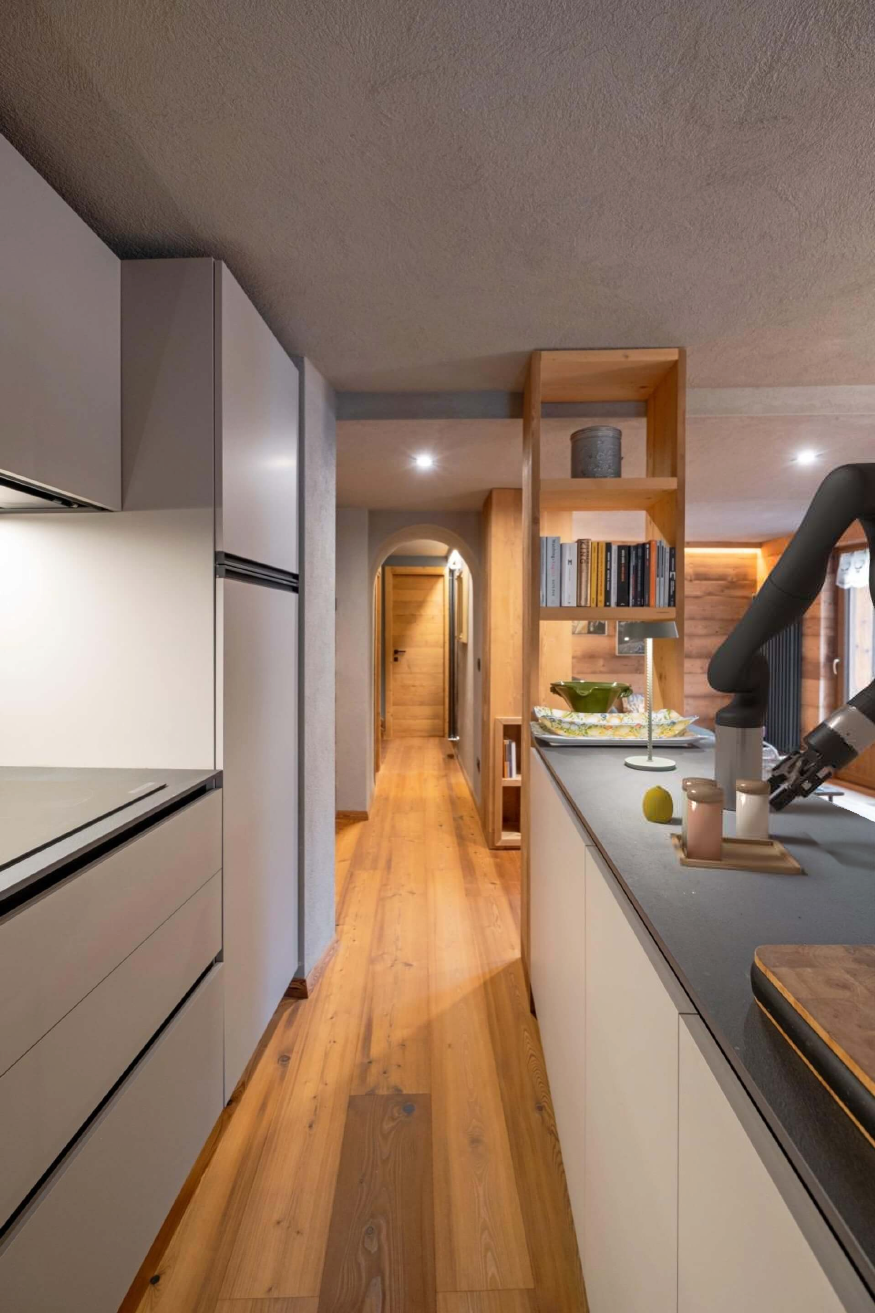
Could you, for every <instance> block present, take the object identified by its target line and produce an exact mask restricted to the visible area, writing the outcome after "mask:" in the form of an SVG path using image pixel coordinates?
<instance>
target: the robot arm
mask: <svg viewBox="0 0 875 1313" xmlns="http://www.w3.org/2000/svg"><path fill="white" fill-rule="evenodd" d="M857 520H858V522H859V524H860V526H861V528H862V529H863V532H864V534H865V537H866V541H867V546H868V554H869V561H868V562H869V564H868V566H869V567H868V568H869V569H868V590H869V596H870V599H871V602H872V606H873V608H874V610H875V462H857V463H855V462H854V463H847V464H842V465H840V466H837V467H835V468H834V469H832V470H831V471H830V472H829V473H828V474H827V475H826V476H825V477H824V479H823V480H822V481H821V483H820V485H819V487H818V488H817V490H816V492H815V494H814V496H813V498H812V500H811V502H810V504H809V506H808V509H807V510H806V512H805V515H804V517H803V519H802V521H801V523H800V524H799V527H798V528H797V530H796V532H795V534H794V535H793V537H792V538H791V540H790V541H789V542H788V544H787V546H786V548H785V549H784V551H783V553H782V554H781V556H780V557H779V559H778V560H777V562H776V564H775V565H774V567H773V568H772V569H771V570H770V573H769V574H768V576H767V577H766V579H765V580H764V582H763V583H762V585H761V586H760V588H759V590H758V592H757V593H756V596H755V597H754V599H753V600H752V602H751V603H750V605H749V606H748V608H747V610H746V611H745V612H744V614H743V615H742V617H741V618H740V620H739V621H738V622H737V624H736V625H735V627H734V628H733V629H732V631H731V632H730V633H729V634H728V636H727V637H726V638H725V639H724V640H723V642H722V643H721V644H720V646H718V648H717V649H716V650H715V651H714V653H713V655H712V656H711V658H710V661H709V662H708V665H707V666H708V667H707V671H706V678H707V682H708V684H709V687H710V688H712V689H713V690H714V691H716V692H719V693H721V694H722V693H723V694H733V698H732V700H731V701H730V702H728V703H727V704H726V705H725V706H723V707H722V708H719V709H718V710H717V711H716V712H715V719H714V721H715V722H714V723H715V724H714V725H715V726H714V728H715V730H714V772H713V774H714V778H713V780H715V781H717V787H720V788H722V789H724V801H723V809H725V810H729V811H730V810H731V811H736V792H737V790H736V780H738V779H757V780H763V761H764V760H763V754H764V751H763V750H764V720H765V717H766V716H767V713H768V708H769V695H770V686H771V667H770V663H769V661H768V658H767V656H766V655H765V653H763V651H761V649H762V648H763V647H764V646H765V645H766V644H767V643H769V642H770V641H771V640H773V639H774V638H775V637H777V636H779V635H780V634H782V633H783V632H785V631H786V630H787V629H789V628H790V627H792V626H793V625H795V624H796V623H797V622H798V621H800V620H801V619H802V618H803V616H804V615H805V614H807V612H808V610H809V609H810V608H811V606H812V605H813V603H814V602H815V601H816V599H817V598H818V597H819V595H820V593H821V592H822V590H823V587H824V586H825V582H826V579H827V574H828V570H829V569H828V567H829V562H830V558H831V555H832V552H833V550H834V548H835V547H836V545H837V543H838V542H839V541H840V539H841V538H842V536H844V534H845V533H846V532H847V530H848V529H849V528H850V527H851V525H852V524H853V523H854V522H855V521H857ZM802 742H803V744H804V745H805V746H806V747H807V749H806V750H804V751H802V752H801V751H800V750H799V748H796V749H794V750H792V752H791V753H789V754H788V755H786V757H785V758H783V759H782V760H781V761H779V763H777V764H776V765H775V766H773V767H772V768H771V774H770V777H769V778H768V779H766V780H765V781H767V782H769V783H770V797H771V796H772V795H773V794H774V793H775V792H776V791H778V790H779V789H780V788H782V786H784V785H786V786H784V787H783V788H782V789H780V791H778V792H777V793H776V794H775V795H773V796H772V797H771V798H770V800H769V806H771V808H773V809H774V810H775V811H776V812H781V811H782V810H783V809H785V807H787V806H788V805H790V803H792V802H793V801H794V800H795V799H796V798H797V799H800V798H803V799H806V798H808V797H809V796H810V795H811V794H812V793H814V792H815V791H816V790H817V789H818V788H820V787H821V786H822V785H823V784H824V783H825V782H826V781H828V779H830V778H831V777H832V776H833V772H832V771H835V772H842V770H843V769H845V768H846V767H847V766H848V765H849V764H851V763H852V761H854V760H855V759H857V758H858V757H859V756H860V755H861V754H863V752H865V751H866V750H867V749H868V748H870V746H872V745H873V744H874V743H875V677H874V678H873V679H872V680H871V682H870V683H868V685H867V686H866V687H864V688H863V689H861V690H860V691H859V692H857V693H856V694H855V695H854V696H853V697H852V698H851V699H849V700H848V701H847V702H846V703H845V704H843V705H842V706H841V707H839V708H837V709H836V710H834V711H833V712H832V713H831V714H830V715H828V716H826V718H825V719H824V720H823V721H821V722H820V723H819V724H817V725H816V726H815V727H814V728H813V729H812V730H811V731H810V732H808V733H807V734H805V735H804V737H803V738H802ZM829 768H830V769H831V770H832V771H831V770H830V769H829Z"/></svg>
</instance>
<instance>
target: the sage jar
mask: <svg viewBox="0 0 875 1313" xmlns="http://www.w3.org/2000/svg"><path fill="white" fill-rule="evenodd" d="M690 785H710V786H716V787H717V781H715V780H714V779H712V778H707V777H696V776H695V777H694V776H692V777H690V776H689V777H684V778H682V779H681V790H682V803H681V804H682V811H681V812H682V815H681V834H682V847H683V848H685V849H687V799H688V798H687V787H688V786H690Z"/></svg>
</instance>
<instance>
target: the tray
mask: <svg viewBox="0 0 875 1313" xmlns="http://www.w3.org/2000/svg"><path fill="white" fill-rule="evenodd" d="M669 839H670V841H671V842H670V843H671V844H672V847H673V849H674V851H675V854H676V857H677V859H678V862H679V864H680V866H682V867H691V868H692V867H696V868H705V869H707V868H708V869H721V870H734V871H747V872H761V873H774V874H787V875H801V876H803V875H804V868H803V867H802V866H801V865H800V864H799V863H798V862H797V861H796V859H795V858H794V857H793V856H792V855H791V854H790V853H789V851H788V850H786V848H785V847H784V846H783V844H781V843H780V841H779V840H777V839H753V838H739V837H737V836H723V837H722V861H709V860H695V859H688V858H687V857H686V851H687V849H685V848H683V847H682V833H678V832H675V833H674V832H670V833H669Z"/></svg>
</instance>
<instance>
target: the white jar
mask: <svg viewBox="0 0 875 1313" xmlns="http://www.w3.org/2000/svg"><path fill="white" fill-rule="evenodd" d="M736 790H737V792H736V810H735V837H738V838H753V839H768V840H770V838H769V837H770V804H769V800H770V799H771V798H770V797H771V796H770V783H769V782H767V781H766V780H763V779H762V780H757V779H738V780H736Z"/></svg>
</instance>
